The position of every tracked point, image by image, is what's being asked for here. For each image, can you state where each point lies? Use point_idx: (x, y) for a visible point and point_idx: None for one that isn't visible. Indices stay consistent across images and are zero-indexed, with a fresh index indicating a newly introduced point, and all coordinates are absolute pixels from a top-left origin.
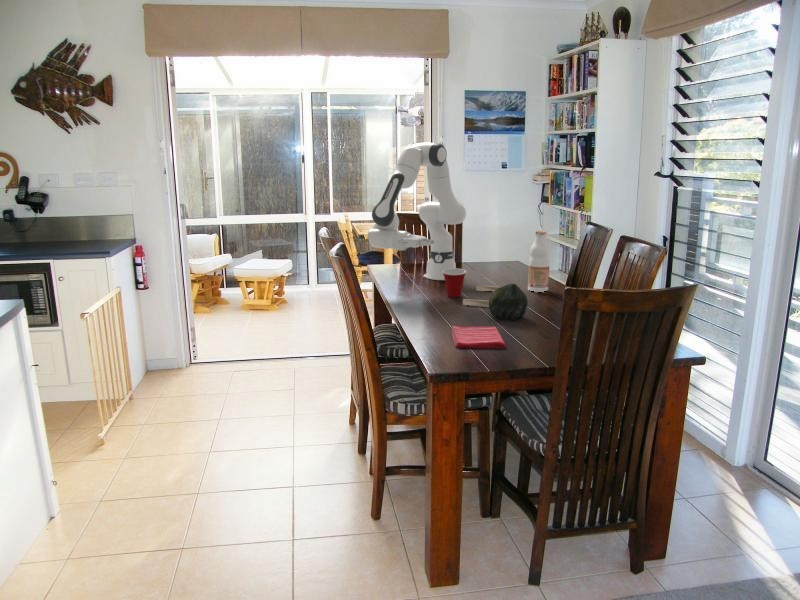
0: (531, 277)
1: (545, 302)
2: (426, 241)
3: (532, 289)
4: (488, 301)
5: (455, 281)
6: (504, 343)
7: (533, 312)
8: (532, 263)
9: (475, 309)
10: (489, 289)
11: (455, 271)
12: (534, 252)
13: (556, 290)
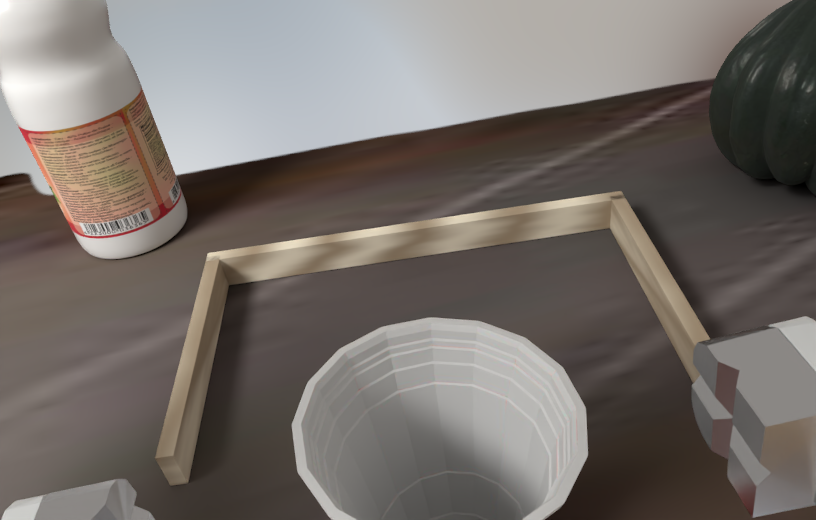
0: (143, 170)
1: (395, 157)
2: (798, 415)
3: (174, 222)
4: (657, 252)
5: (533, 436)
6: None
7: (615, 140)
8: (111, 90)
9: (769, 311)
10: (200, 386)
11: (319, 461)
12: (88, 15)
13: None
